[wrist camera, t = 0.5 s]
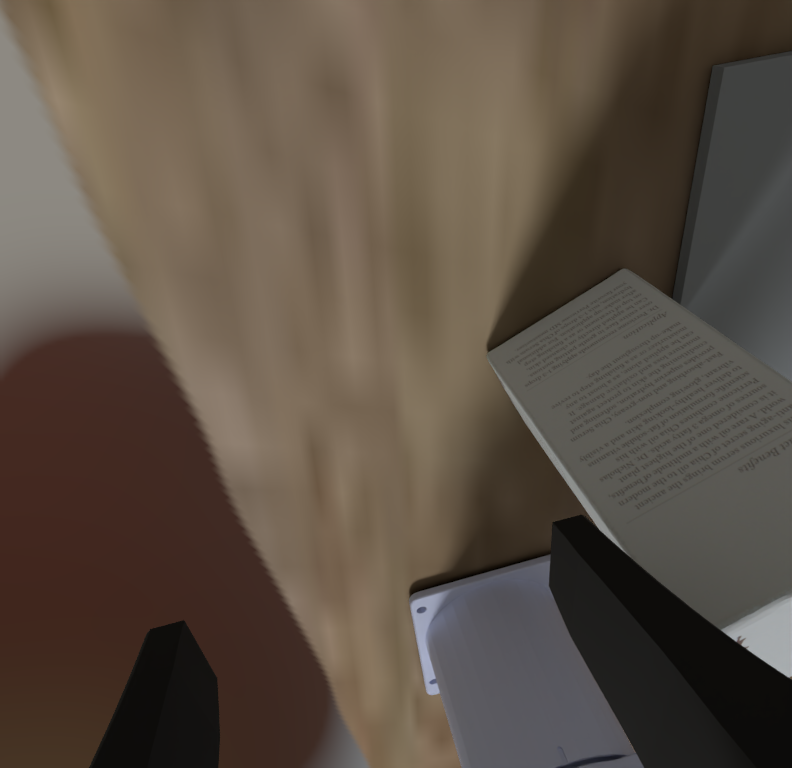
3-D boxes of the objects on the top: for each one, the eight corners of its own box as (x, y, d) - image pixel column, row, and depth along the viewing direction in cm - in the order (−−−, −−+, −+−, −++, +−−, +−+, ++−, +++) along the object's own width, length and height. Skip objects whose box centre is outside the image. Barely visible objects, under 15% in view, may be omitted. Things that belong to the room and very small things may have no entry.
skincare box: (523, 422, 24) (721, 718, 14) (481, 351, 21) (687, 651, 12) (655, 343, 23) (961, 598, 13) (628, 260, 20) (979, 499, 11)
